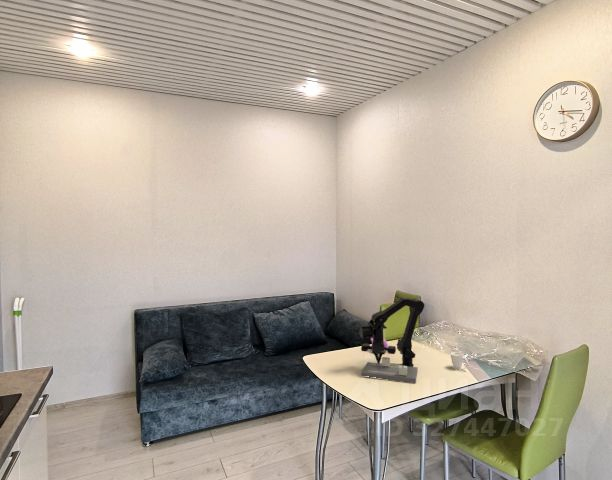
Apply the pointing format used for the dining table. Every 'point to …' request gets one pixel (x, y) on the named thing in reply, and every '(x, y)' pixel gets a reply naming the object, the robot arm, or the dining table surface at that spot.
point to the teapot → (383, 342)
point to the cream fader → (385, 361)
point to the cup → (457, 360)
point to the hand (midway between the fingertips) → (378, 363)
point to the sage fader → (402, 370)
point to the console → (389, 372)
